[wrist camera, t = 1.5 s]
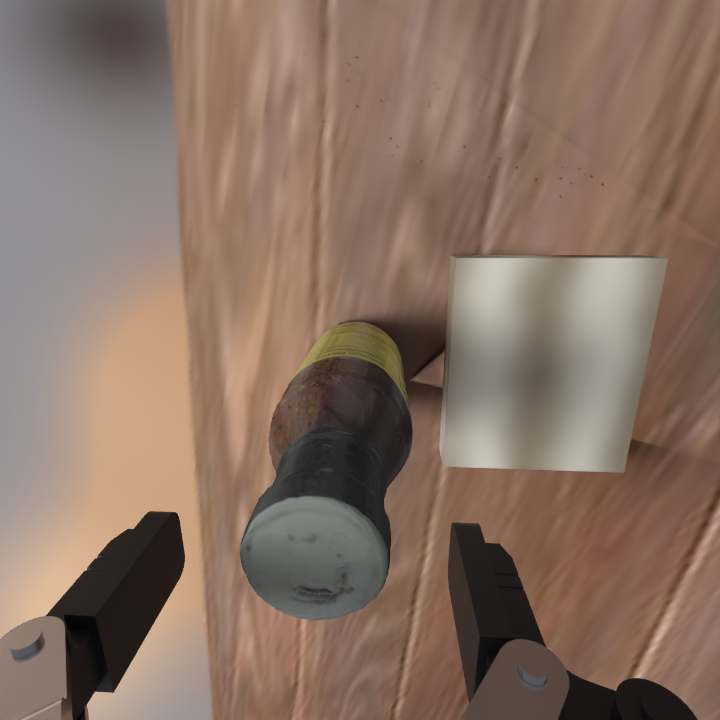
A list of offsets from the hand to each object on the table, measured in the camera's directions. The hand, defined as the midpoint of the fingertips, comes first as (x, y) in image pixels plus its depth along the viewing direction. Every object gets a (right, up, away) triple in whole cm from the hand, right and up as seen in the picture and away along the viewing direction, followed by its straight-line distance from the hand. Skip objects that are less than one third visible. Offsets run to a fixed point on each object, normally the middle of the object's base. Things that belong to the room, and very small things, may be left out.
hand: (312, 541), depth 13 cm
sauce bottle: (+1, +6, +18) cm, 19 cm away
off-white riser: (+13, +5, +17) cm, 23 cm away
